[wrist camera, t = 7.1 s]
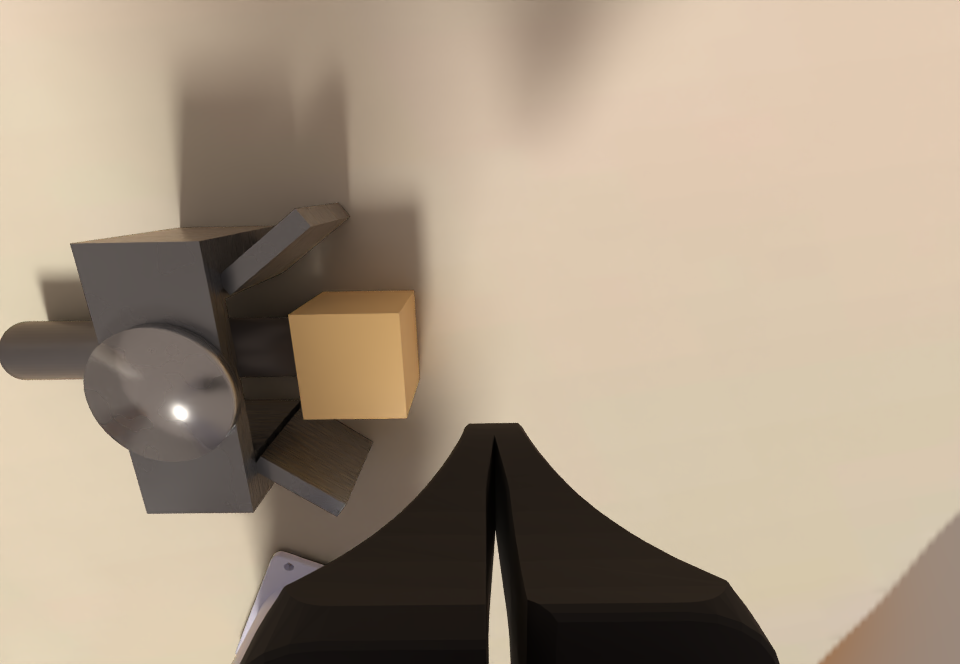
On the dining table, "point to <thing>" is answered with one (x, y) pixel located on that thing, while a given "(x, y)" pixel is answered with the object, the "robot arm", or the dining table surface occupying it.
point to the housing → (204, 369)
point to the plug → (276, 352)
